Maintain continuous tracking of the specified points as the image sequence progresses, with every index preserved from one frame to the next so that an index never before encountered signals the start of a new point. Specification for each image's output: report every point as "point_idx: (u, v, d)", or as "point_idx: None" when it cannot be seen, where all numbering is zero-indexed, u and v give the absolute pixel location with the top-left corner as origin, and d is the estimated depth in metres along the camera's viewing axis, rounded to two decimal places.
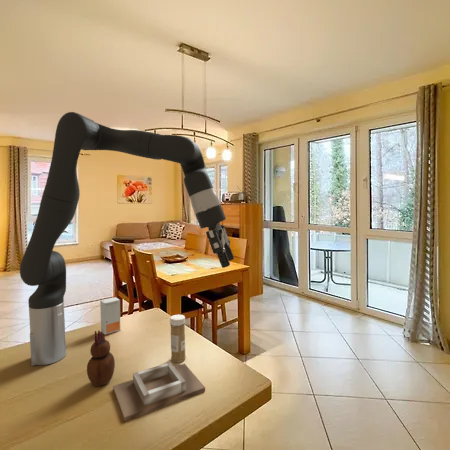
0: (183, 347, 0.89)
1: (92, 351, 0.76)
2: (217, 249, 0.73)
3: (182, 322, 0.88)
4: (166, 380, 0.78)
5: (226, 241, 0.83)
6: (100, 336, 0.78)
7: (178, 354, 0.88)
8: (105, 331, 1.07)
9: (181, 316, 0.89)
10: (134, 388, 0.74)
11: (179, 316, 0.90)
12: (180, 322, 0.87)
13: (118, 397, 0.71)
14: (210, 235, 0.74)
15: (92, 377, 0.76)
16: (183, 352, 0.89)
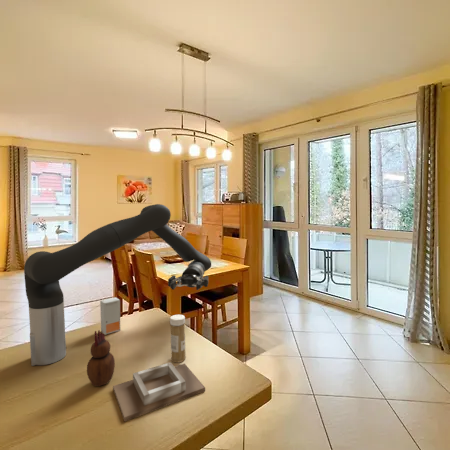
0: (183, 347, 0.89)
1: (92, 351, 0.76)
2: None
3: (182, 322, 0.88)
4: (166, 380, 0.78)
5: (179, 285, 1.06)
6: (100, 336, 0.78)
7: (178, 354, 0.88)
8: (105, 331, 1.07)
9: (181, 316, 0.89)
10: (134, 388, 0.74)
11: (179, 316, 0.90)
12: (180, 322, 0.87)
13: (118, 397, 0.71)
14: None
15: (92, 377, 0.76)
16: (183, 352, 0.89)
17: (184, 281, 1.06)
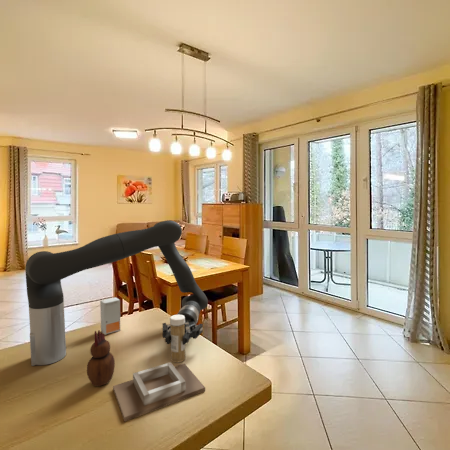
0: (183, 347, 0.89)
1: (92, 351, 0.76)
2: (196, 334, 0.92)
3: (182, 322, 0.88)
4: (166, 380, 0.78)
5: None
6: (100, 336, 0.78)
7: (178, 354, 0.88)
8: (105, 331, 1.07)
9: (181, 316, 0.89)
10: (134, 388, 0.74)
11: (179, 316, 0.90)
12: (180, 322, 0.87)
13: (118, 397, 0.71)
14: (201, 328, 0.95)
15: (92, 377, 0.76)
16: (183, 352, 0.89)
17: None
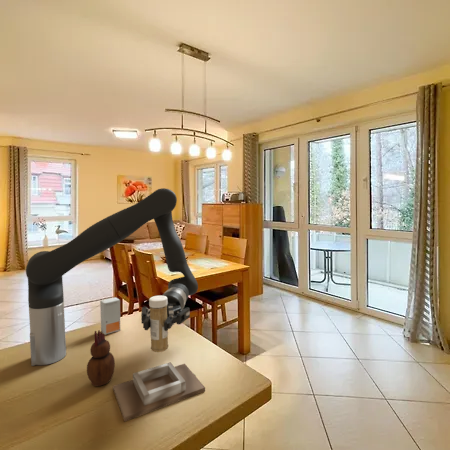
0: (165, 334, 0.74)
1: (92, 351, 0.76)
2: (180, 319, 0.77)
3: (163, 304, 0.73)
4: (166, 380, 0.78)
5: None
6: (100, 336, 0.78)
7: (158, 342, 0.73)
8: (105, 331, 1.07)
9: (163, 297, 0.75)
10: (134, 388, 0.74)
11: (160, 297, 0.75)
12: (161, 303, 0.72)
13: (118, 397, 0.71)
14: (188, 312, 0.80)
15: (92, 377, 0.76)
16: (165, 340, 0.74)
17: None
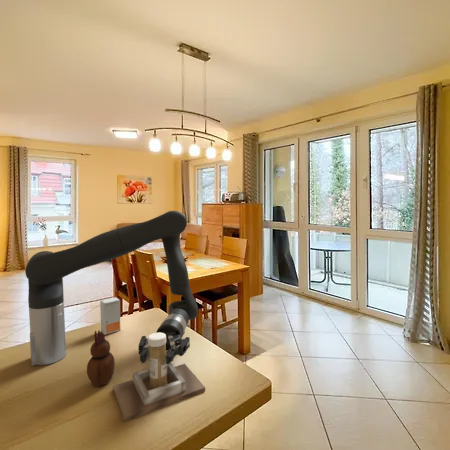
0: (164, 372, 0.74)
1: (92, 351, 0.76)
2: (182, 350, 0.77)
3: (162, 342, 0.73)
4: None
5: None
6: (100, 336, 0.78)
7: (157, 380, 0.73)
8: (105, 331, 1.07)
9: (161, 335, 0.75)
10: (134, 388, 0.74)
11: (159, 335, 0.75)
12: (159, 342, 0.72)
13: (118, 397, 0.71)
14: (188, 342, 0.80)
15: (92, 377, 0.76)
16: (164, 378, 0.74)
17: None
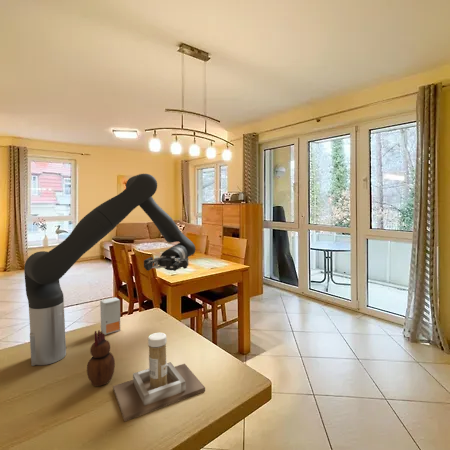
0: (164, 372, 0.74)
1: (92, 351, 0.76)
2: None
3: (162, 342, 0.73)
4: None
5: (156, 266, 0.97)
6: (100, 336, 0.78)
7: (157, 381, 0.73)
8: (105, 331, 1.07)
9: (162, 335, 0.75)
10: (134, 388, 0.74)
11: (159, 335, 0.75)
12: (160, 342, 0.72)
13: (118, 397, 0.71)
14: None
15: (92, 377, 0.76)
16: (164, 378, 0.74)
17: (161, 262, 0.97)
